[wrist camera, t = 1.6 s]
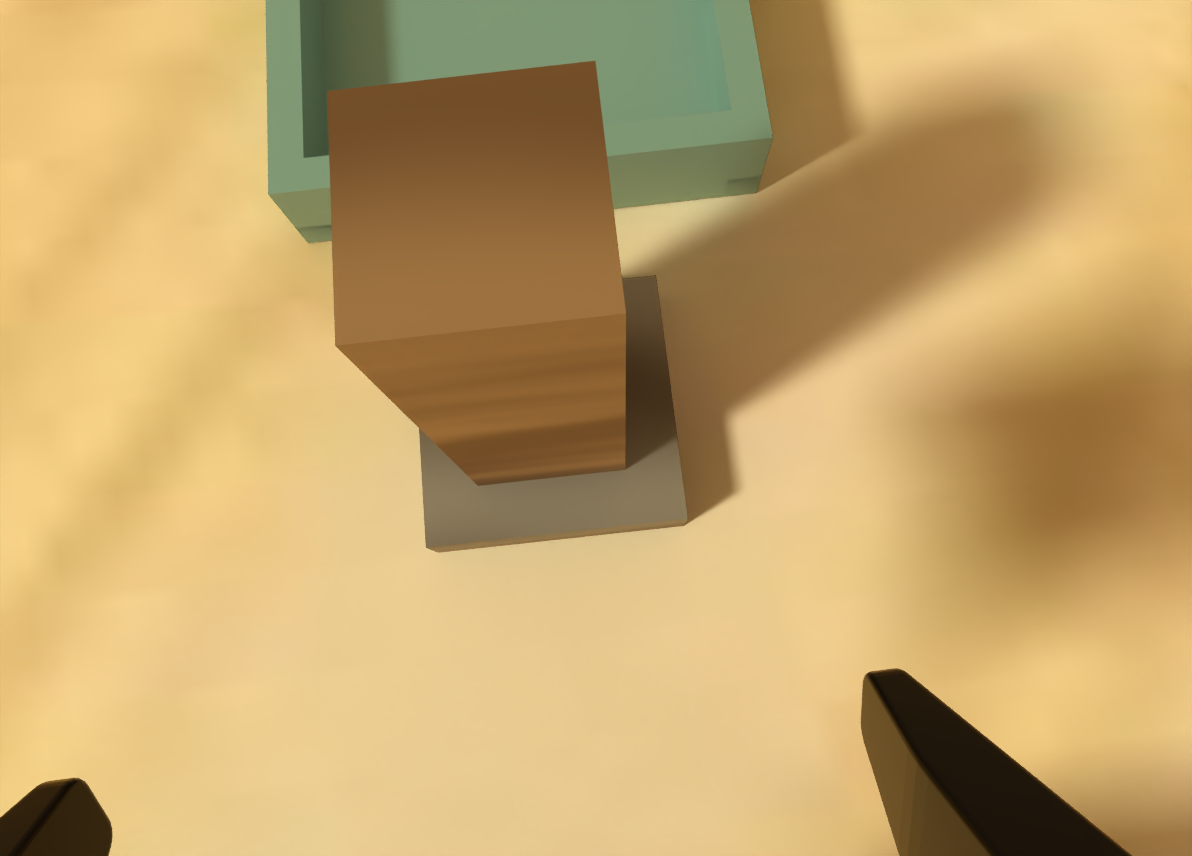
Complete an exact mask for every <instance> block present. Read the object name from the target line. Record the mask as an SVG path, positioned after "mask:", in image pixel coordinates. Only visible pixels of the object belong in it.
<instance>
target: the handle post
mask: <svg viewBox="0 0 1192 856" xmlns="http://www.w3.org/2000/svg"><path fill="white" fill-rule="evenodd" d="M327 105H328V135H329V166H330V196H331V226H332V257H333V287H334V317H335V346H336V347H337V348H338V349H339V350H340V351H341V352H342V353H343V354H344V355H345V356H346V357H347V358H349V359H350V360H351V361H352V362H353V363H354V364H355V365H356V366H357V367H358V368H359V369H360V370H361V371H362V372H363V373H364V374H365V375H366V376H367V377H368V378H369V379H370V380H371V381H372V382H373V383H374V384H375V385H376V386H377V387H378V388H379V389H380V390H381V391H382V392H383V393H384V394H385V395H386V396H387V397H388V398H389V399H390V400H391V401H392V402H393V403H394V404H395V405H396V406H397V407H398V408H399V409H400V410H401V411H402V412H403V413H404V414H405V415H406V416H407V417H408V418H409V419H410V420H411V421H413V422H414V423H415V424H416V425H417V426H418V427H419V433H420V451H421V469H422V486H423V504H424V522H425V539H426V548H428V549H431V550H433V551H436V552H447V551H457V550H466V549H475V548H484V547H493V546H503V545H512V544H521V543H530V542H539V541H548V540H558V539H567V538H576V537H585V536H594V535H604V534H613V533H622V532H631V531H640V530H649V529H659V528H668V527H677V526H684V525H685V523H686V521H687V520H688V516H687V508H686V501H685V493H684V485H683V478H682V470H681V463H680V455H679V447H678V440H677V432H676V425H675V417H674V409H673V402H672V394H671V387H670V379H669V371H668V364H667V356H666V348H665V341H664V333H663V326H662V318H661V310H660V303H659V295H658V288H657V280H656V275H654V276H645V277H636V278H627V279H622V276H621V268H620V260H619V251H618V243H617V235H616V226H615V218H614V210H613V202H612V193H611V185H610V177H609V169H608V160H607V152H606V144H605V135H604V127H603V119H602V111H601V102H600V94H599V86H598V78H597V69H596V61H588V62H579V63H570V64H561V65H552V66H544V67H535V68H526V69H517V70H508V71H499V72H491V73H482V74H473V75H464V76H455V77H446V78H438V79H429V80H420V81H411V82H402V83H393V84H385V85H376V86H367V87H358V88H349V89H340V90H332V91H327Z"/></svg>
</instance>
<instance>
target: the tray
mask: <svg viewBox="0 0 1192 856" xmlns="http://www.w3.org/2000/svg"><path fill="white" fill-rule="evenodd" d="M266 51H267V126H268V194H269V196H270V197H271V198H272V199H273V201H274V202H275V203H276V204H277V205H278V207H279V208H280V209H281V210H282V212H283V213H284V214H285V215H286V216H287V218H288V219H289V220H290V221H291V223H292V224H293V225H294V226H295V228H296V229H297V230H298V231H299V232H300V234H301V235H302V236H303V237H304V239H305V240H306V241H307V242H308V243H313V242H322V241H331V240H332V226H331V196H330V166H329V135H328V105H327V91H332V90H340V89H349V88H358V87H367V86H376V85H385V84H393V83H402V82H411V81H420V80H429V79H438V78H446V77H455V76H464V75H473V74H482V73H491V72H499V71H508V70H517V69H526V68H535V67H544V66H552V65H561V64H570V63H579V62H588V61H596V69H597V78H598V86H599V94H600V102H601V111H602V119H603V127H604V135H605V144H606V152H607V160H608V169H609V177H610V185H611V193H612V202H613V209H617V208H626V207H635V206H644V205H653V204H662V203H671V202H680V201H689V200H698V199H707V198H715V197H724V196H733V195H742V194H751V193H756V192H757V189H758V186H759V182H760V179H761V176H762V172H763V169H764V166H765V162H766V159H767V156H768V152H769V149H770V146H771V142H772V139H773V135H772V129H771V124H770V118H769V112H768V106H767V101H766V95H765V89H764V84H763V78H762V72H761V66H760V61H759V55H758V49H757V43H756V38H755V32H754V26H753V21H752V15H751V9H750V3H749V0H266Z"/></svg>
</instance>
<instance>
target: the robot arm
mask: <svg viewBox="0 0 1192 856" xmlns="http://www.w3.org/2000/svg"><path fill="white" fill-rule="evenodd" d="M861 730H862V735H863V740H864V744H865V747H866V750H867V753H868V757H869V760H870V763H871V766H872V769H873V773H874V776H875V779H876V782H877V785H878V789H879V792H880V795H881V798H882V801H883V805H884V808H885V811H886V814H887V817H888V821H889V824H890V827H891V830H892V833H893V837H894V840H895V843H896V846H897V849H898V852H899V855H900V856H1132V855H1131V854H1129V853H1128V852H1127V851H1126V850H1124V849H1123V848H1122V847H1121V846H1120V845H1118V844H1117V843H1116V842H1115V841H1113V840H1112V839H1111V838H1110V837H1108V836H1107V835H1106V834H1105V833H1104V832H1102V831H1101V830H1100V829H1099V828H1097V827H1096V826H1095V825H1094V824H1092V823H1091V822H1090V821H1089V820H1088V819H1086V818H1085V817H1084V816H1083V815H1081V814H1080V813H1079V812H1078V811H1076V810H1075V809H1074V808H1073V807H1072V806H1070V805H1069V804H1068V803H1067V802H1065V801H1064V800H1063V799H1062V798H1060V797H1059V796H1058V795H1057V794H1056V793H1054V792H1053V791H1052V790H1051V789H1049V788H1048V787H1047V786H1046V785H1044V784H1043V783H1042V782H1041V781H1040V780H1038V779H1037V778H1036V777H1035V776H1033V775H1032V774H1031V773H1030V772H1028V771H1027V770H1026V769H1025V768H1024V767H1022V766H1021V765H1020V764H1019V763H1017V762H1016V761H1015V760H1014V759H1012V758H1011V757H1010V756H1009V755H1008V754H1006V753H1005V752H1004V751H1003V750H1001V749H1000V748H999V747H998V746H996V745H995V744H994V743H993V742H992V741H990V740H989V739H988V738H987V737H985V736H984V735H983V734H982V733H980V732H979V731H978V730H977V729H976V728H974V727H973V726H972V725H971V724H969V723H968V722H967V721H966V720H964V719H963V718H962V717H961V716H960V715H958V714H957V713H956V712H955V711H953V710H952V709H951V708H950V707H948V706H947V705H946V704H945V703H944V702H942V701H941V700H940V699H939V698H937V697H936V696H935V695H934V694H932V693H931V692H930V691H929V690H928V689H926V688H925V687H924V686H923V685H921V684H920V683H919V682H918V681H916V680H915V679H914V678H913V677H912V676H910V675H909V674H908V673H907V672H905V671H903V670H901V669H887V670H879V671H872V672H869V673H867V674H866V675H865V677H864V679H863V690H862V709H861ZM111 843H112V826H111V822H110V820H109V818H108V817H107V815H106V813H105V812H104V810H103V808H102V807H101V805H100V804H99V802H98V800H97V799H96V797H95V796H94V794H93V792H92V791H91V789H90V788H89V786H88V785H87V783H86V782H85V781H83V780H81V779H79V778H69V779H62V780H54V781H48V782H45V783H42V784H40V785H38V786H37V787H36V788H34V789H33V790H32V791H31V792H29V793H28V794H27V795H26V796H25V797H24V798H22V799H21V800H20V801H19V802H18V803H17V804H15V805H14V806H13V807H12V808H11V809H10V810H9V811H7V812H6V813H5V814H4V815H3V816H2V817H0V856H109V852H110V848H111Z"/></svg>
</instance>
